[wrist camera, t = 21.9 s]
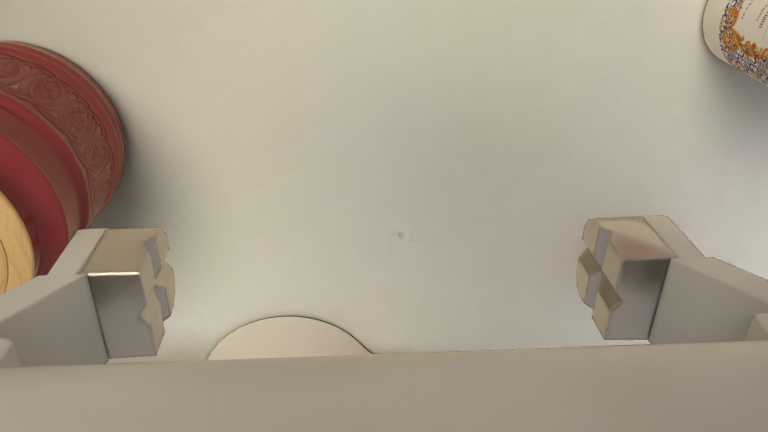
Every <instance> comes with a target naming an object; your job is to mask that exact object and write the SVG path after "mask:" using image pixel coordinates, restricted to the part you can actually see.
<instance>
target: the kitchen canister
mask: <svg viewBox="0 0 768 432" xmlns="http://www.w3.org/2000/svg"><path fill="white" fill-rule="evenodd" d="M124 158H125V139H124V133H123V129H122V125H121V122H120V119H119V117H118V115H117V112H116V110H115V108H114V106H113V105H112V103H111V101H110V100H109V98H108V97H107V95H106V94H105V93H104V91H103V90H102V89H101V88H100V86H99V85H98V84H97V83H96V82H95V81H94V80H93V79H92V78H91V77H90V76H89V75H88V74H87V73H85V72H84V71H83V70H82V69H81V68H79V67H78V66H76V65H75V64H74V63H72V62H71V61H69V60H67V59H66V58H64V57H62V56H60V55H58V54H56V53H54V52H52V51H50V50H47V49H44V48H42V47H39V46H35V45H32V44H28V43H23V42H17V41H0V295H1V294H3V293H5V292H7V291H9V290H11V289H13V288H15V287H17V286H19V285H21V284H23V283H25V282H27V281H29V280H31V279H33V278H35V277H37V276H40V275H47V274H48V273H49V271H50V270H51V269H52V267H53V266H54V264H55V263H56V261H57V260H58V258H59V257H60V255H61V254H62V252H63V251H64V249H65V248H66V247H67V245H68V244H69V242H70V241H71V239H72V238H73V236H74V235H75V233H76V232H77V231H78V230H81V229H88V227H89V226H90V224H91V223H92V221H93V220H94V218H95V217H96V216H97V215H98V214H99V213H100V212H101V211H102V210H103V209H104V208H105V206H106V205H107V204H108V202H109V201H110V199H111V198H112V196H113V194H114V193H115V191H116V189H117V187H118V184H119V182H120V179H121V176H122V171H123V165H124Z"/></svg>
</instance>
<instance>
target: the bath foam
mask: <svg viewBox="0 0 768 432" xmlns="http://www.w3.org/2000/svg"><path fill="white" fill-rule="evenodd" d="M703 33H704V38H705V41H706V43H707V46H708V47H709V49H710V50H711V52H712V53H713V54H714V55H715V56H716V57H718V58H719V59H721V60H722V61H724V62H726V63H728V64H729V65H731V66H733V67H735V68H736V69H738V70H740V71H741V72H743V73H745V74H747V75H749V76H751V77H752V78H754V79H756V80H758V81H760V82H762V83H763V84H765V85H767V86H768V0H709V1H708V3H707V6H706V9H705V12H704V17H703Z"/></svg>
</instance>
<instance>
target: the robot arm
mask: <svg viewBox="0 0 768 432" xmlns="http://www.w3.org/2000/svg"><path fill="white" fill-rule="evenodd" d="M582 239H583V240H584V242H585V244H586V245H587V247H588V248H587V249H586V250H585V251H584V252H583V253H582V255H581V256H580V257H579V258H578V264H577V271H576V276H577V287H578V291H579V294H580V296H581V298H582V300H583V302H584V304H586V305H588V306H590V307H591V308H593V309H594V310H593V315H592V319H593V320H594V322H595V324H596V326H597V327H598V329H599V331H600V333H601V335H602V336H603V338H604V340H648V342H650V343H651V344H645V345H617V346H590V347H562V348H535V349H507V350H479V351H452V352H424V353H396V354H371V353H370V352H369V351H367V350H366V349H365V348H364V347H363V346H362V345H361V344H360V343H358V342H357V341H356V340H355V339H354V338H353V337H352V336H350V335H349V334H347V333H346V332H344V331H343V330H341V329H339V328H337V327H335V326H333V325H330V324H328V323H325V322H322V321H318V320H314V319H310V318H303V317H274V318H268V319H263V320H259V321H255V322H252V323H250V324H247V325H245V326H242V327H240V328H238V329H237V330H235V331H233V332H232V333H230V334H229V335H227V336H226V337H225V338H224V339H222V340H221V341H220V342H219V343H218V344H217V345H216V347H215V348H214V349H213V351H212V352H211V354H210V355H209V357H208V359H207V360H201V361H173V362H145V363H118V364H106V363H107V362H108V359H111V358H128V357H144V356H157V353H158V350H159V347H160V345H161V342H162V339H163V336H164V333H165V329H164V323H163V321H165V320H166V319H167V318H169V317H170V316H171V313H172V310H173V307H174V299H175V279H174V272H173V268H172V267H171V266H170V265H169V264H168V263H167V262H166V261H165V258H166V256H167V253H168V251H169V245H168V240H167V235H166V233H165V231H164V230H163V228H113V229H107V228H97V229H81V230H78V231H77V232H76V233H75V235H74V236H73V238H72V239H71V241H70V242H69V244H68V245H67V247H66V248H65V249H64V251H63V252H62V254H61V255H60V257H59V258H58V260H57V261H56V263H55V264H54V266H53V267H52V269H51V270H50V271H49V273H48V274H47V275H40V276H37V277H35V278H33V279H31V280H29V281H27V282H25V283H23V284H21V285H19V286H17V287H15V288H13V289H11V290H9V291H7V292H5V293H3V294H1V295H0V432H768V280H766V279H764V278H761V277H759V276H757V275H754V274H752V273H750V272H747V271H745V270H743V269H740V268H738V267H735V266H733V265H731V264H728V263H726V262H724V261H721V260H719V259H716V258H714V257H705V256H704V255H703V254H702V253H701V252H700V251H699V250H698V249H697V248H696V246H695V245H694V244H693V243H692V242H691V241H690V240H689V239H688V238H687V237H686V236H685V235H684V233H683V232H682V231H681V230H680V229H679V228H678V227H677V226H676V225H675V224H674V223H673V221H672V220H671V219H670V218H669V217H666V216H663V215H658V216H643V217H642V216H639V217H618V218H597V219H589V220H588V221H587V223H586V225H585V227H584V232H583V237H582Z"/></svg>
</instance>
